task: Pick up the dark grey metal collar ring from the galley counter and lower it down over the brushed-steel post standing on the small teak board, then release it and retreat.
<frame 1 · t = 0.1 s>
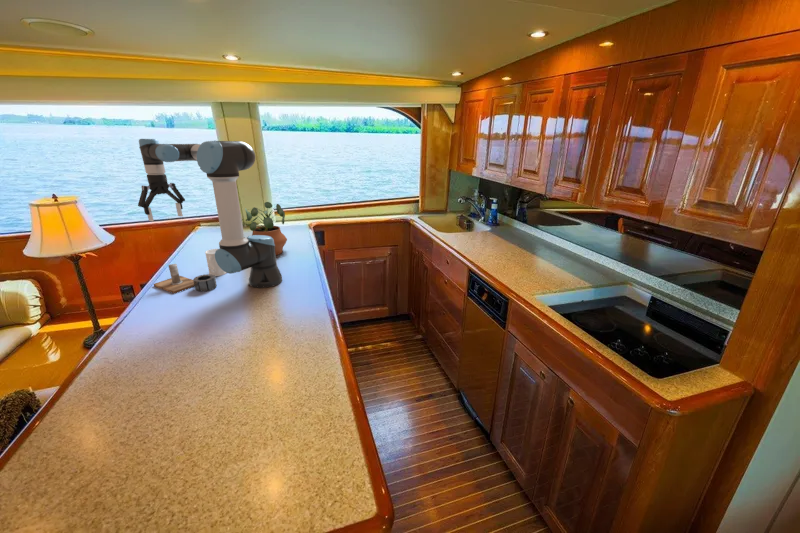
hand: (166, 218, 164), 28 cm above the counter, fingers open, 13 cm apart
potted plant: (264, 253, 204), on the counter
post block: (177, 285, 158), on the counter
mug: (216, 274, 171), on the counter
ring: (206, 287, 156), on the counter
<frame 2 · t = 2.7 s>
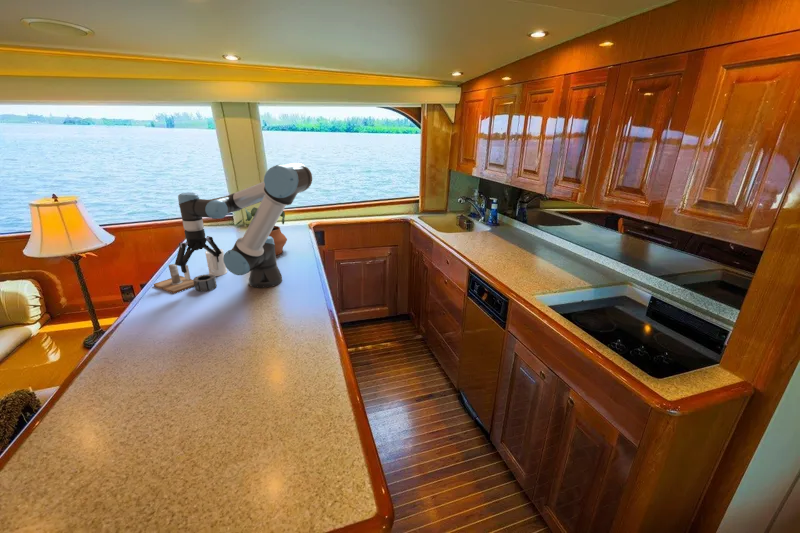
hand: (202, 273, 153), 7 cm above the counter, fingers open, 13 cm apart
nothing on the counter moved.
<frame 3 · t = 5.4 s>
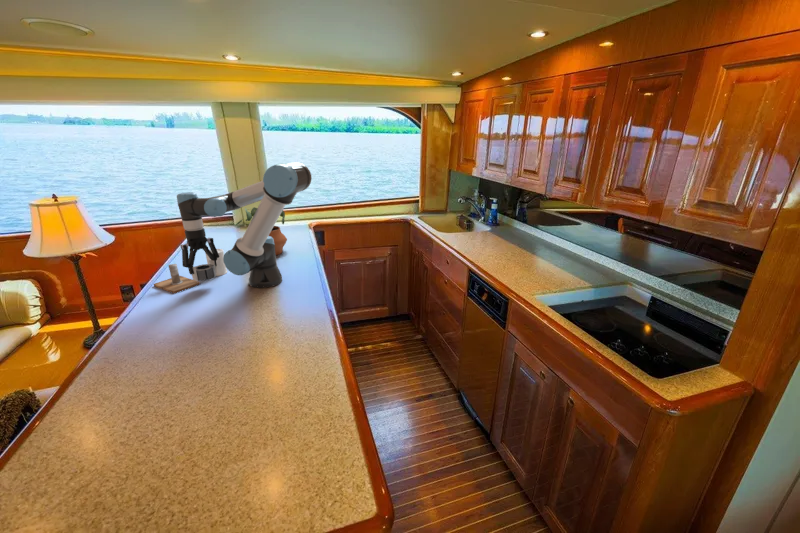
hand: (205, 276, 154), 6 cm above the counter, fingers closed on ring, 8 cm apart
ring: (205, 277, 154), point 5 cm above the counter, touching gripper
everything else where it was.
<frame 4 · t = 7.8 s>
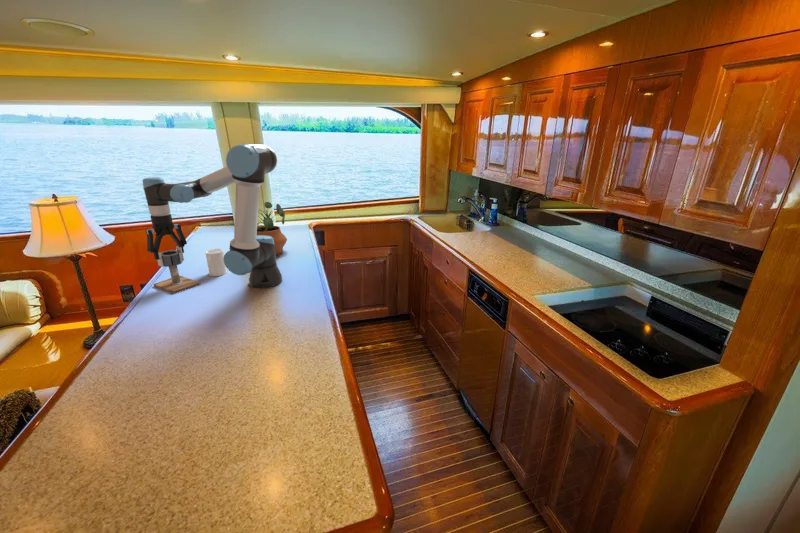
hand: (171, 262, 154), 11 cm above the counter, fingers closed on ring, 8 cm apart
ring: (171, 263, 154), point 11 cm above the counter, touching gripper
everything else where it was.
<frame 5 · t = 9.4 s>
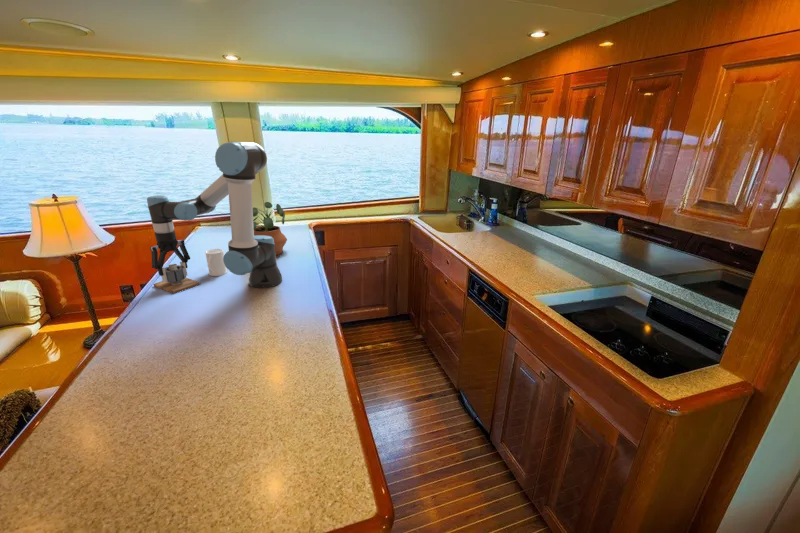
hand: (175, 278, 156), 4 cm above the counter, fingers closed on ring, 8 cm apart
ring: (175, 278, 156), point 3 cm above the counter, touching gripper
everything else where it was.
when the fingers open (2 cm above the counter, at t = 10.6 s): ring stays where it is, resting on post block.
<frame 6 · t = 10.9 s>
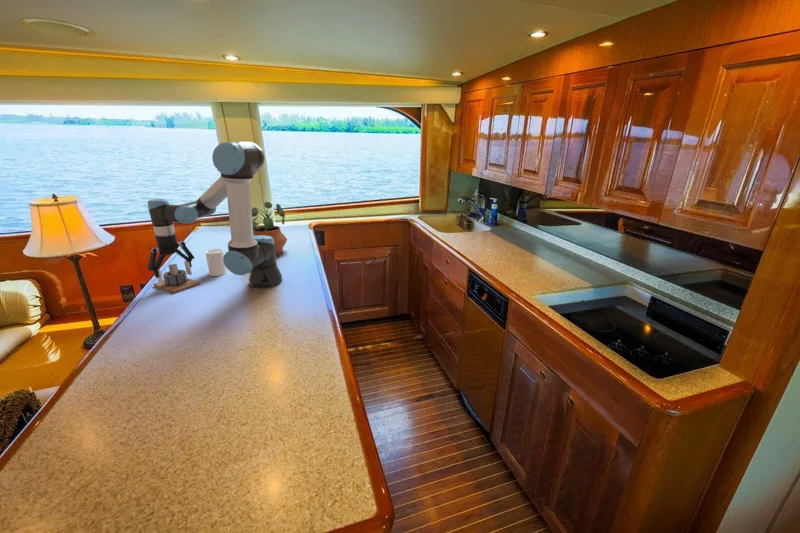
hand: (175, 278, 156), 3 cm above the counter, fingers open, 12 cm apart
ring: (176, 282, 157), point 1 cm above the counter, touching post block
everything else where it was.
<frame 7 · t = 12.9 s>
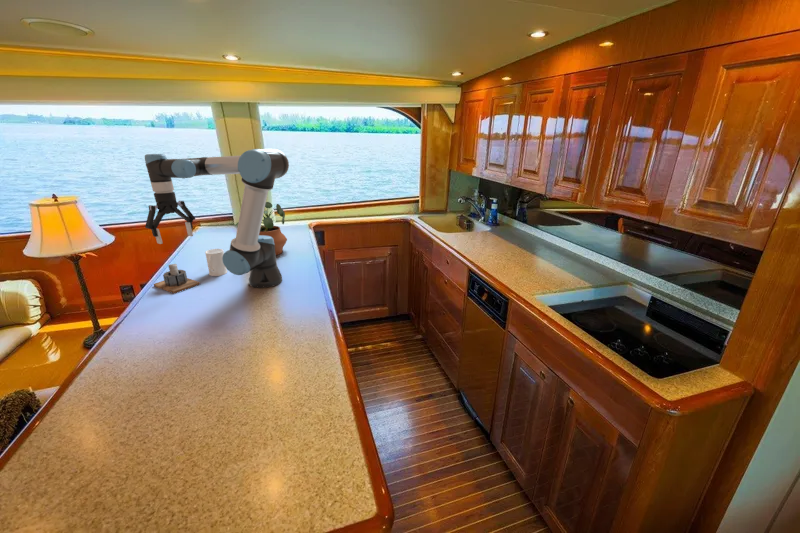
hand: (175, 239, 150), 22 cm above the counter, fingers open, 13 cm apart
nothing on the counter moved.
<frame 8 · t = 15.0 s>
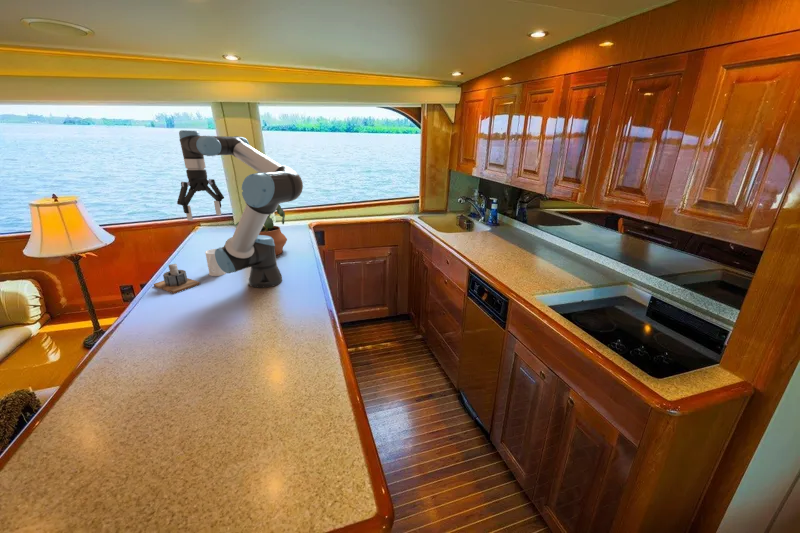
hand: (205, 217, 151), 32 cm above the counter, fingers open, 13 cm apart
nothing on the counter moved.
at the end: ring 0.1 cm off-centre on the post block, point 1.2 cm above the post block's base; ring tilted 0°; the gripper is holding nothing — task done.
